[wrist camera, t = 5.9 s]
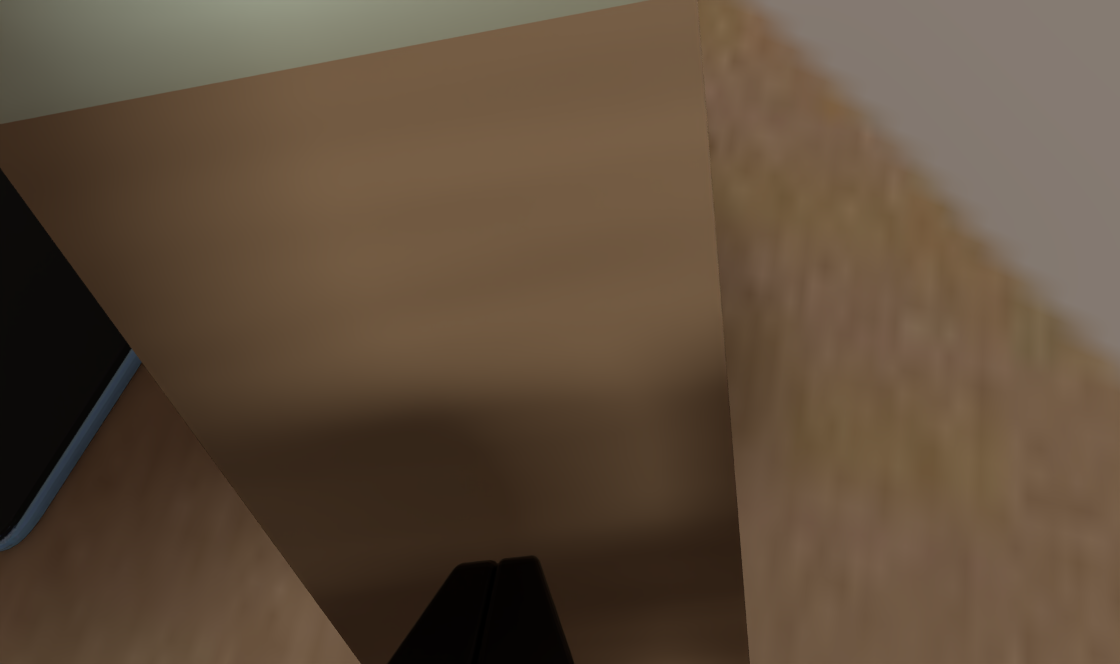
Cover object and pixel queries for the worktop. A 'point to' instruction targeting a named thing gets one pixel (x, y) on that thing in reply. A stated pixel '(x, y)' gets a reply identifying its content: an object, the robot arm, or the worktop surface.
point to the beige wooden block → (414, 286)
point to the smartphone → (47, 367)
